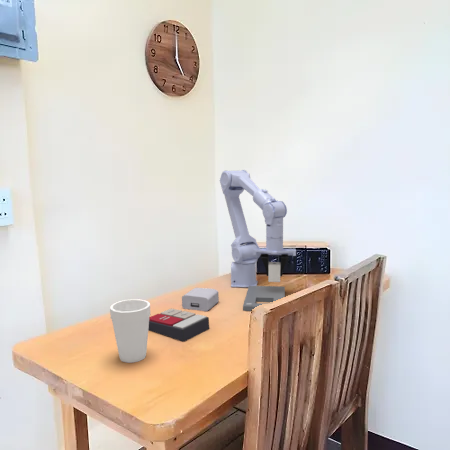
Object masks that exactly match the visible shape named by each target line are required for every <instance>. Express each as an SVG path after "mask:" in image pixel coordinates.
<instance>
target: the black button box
mask: <svg viewBox="0 0 450 450" xmlns="http://www.w3.org/2000/svg"><path fill="white" fill-rule="evenodd" d="M209 329H210V318H209V317H208V316H206V315H203V314H196V312H195V313H194V312H191V311H185V310H181V309H176V308H169V309H167V310H163V311H161V312H160V313H155V314H154V315H150V317H149V328H148V332H149V331H150V332H152V333H155V334H158V335H162V336H165V337H169V338H171V339H174V340H177V341H178V342H183V343H184V342H187V341H189V340H191V339H193V338H194V337H196V336H199V335H200V334H202V333H204V332H206V331H208V330H209Z"/></svg>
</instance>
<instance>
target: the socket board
mask: <svg viewBox="0 0 450 450" xmlns="http://www.w3.org/2000/svg"><path fill="white" fill-rule="evenodd" d="M285 290H286V286H280V285H279V286H277V285H276V286H274V285H257V286H249V287H247V290H246V291H247V292H246V295H245V298H244V300H243V303H242V311H243V312H252V311H251V310H252V309H254V308H255V307H257V306H259V305H262V304H265V303H273V301H276V300H278V299H281V298H283V297H286V295H285V294H286V291H285Z"/></svg>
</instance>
